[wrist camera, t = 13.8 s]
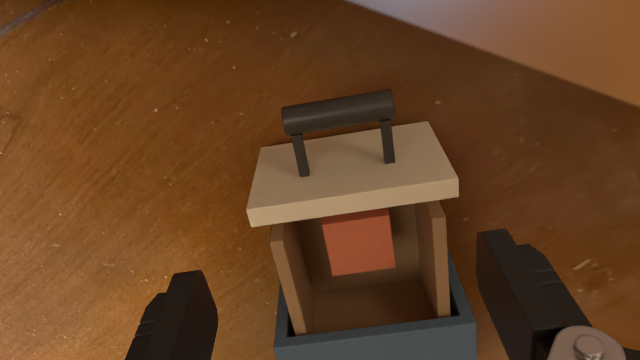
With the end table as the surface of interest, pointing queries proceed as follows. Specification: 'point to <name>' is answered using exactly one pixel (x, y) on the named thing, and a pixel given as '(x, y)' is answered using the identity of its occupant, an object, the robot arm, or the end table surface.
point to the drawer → (354, 196)
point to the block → (359, 241)
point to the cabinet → (387, 336)
